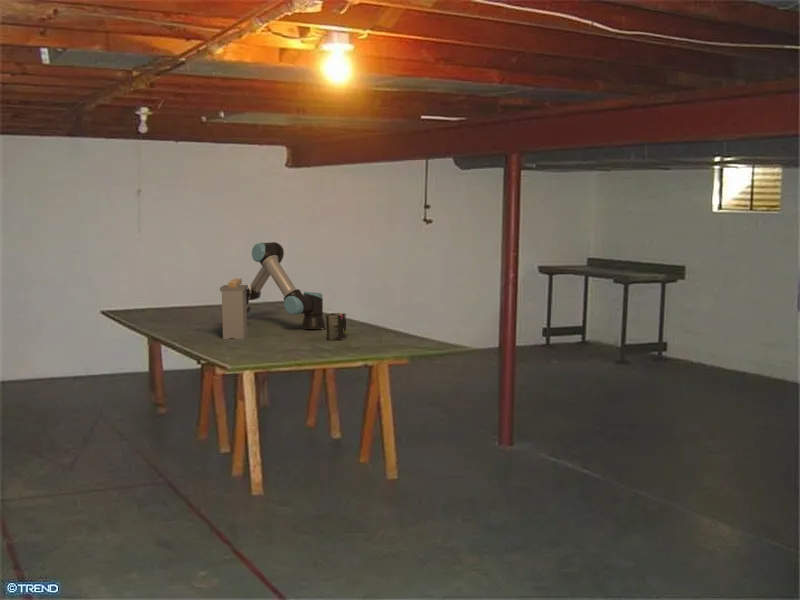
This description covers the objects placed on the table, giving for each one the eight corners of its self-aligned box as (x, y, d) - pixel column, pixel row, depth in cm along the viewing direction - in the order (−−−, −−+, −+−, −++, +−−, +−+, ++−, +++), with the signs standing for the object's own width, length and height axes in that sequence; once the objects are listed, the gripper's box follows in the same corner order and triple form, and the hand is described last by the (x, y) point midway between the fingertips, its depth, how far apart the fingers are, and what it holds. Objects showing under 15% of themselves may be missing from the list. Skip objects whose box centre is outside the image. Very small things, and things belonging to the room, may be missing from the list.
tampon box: (341, 340, 512) (341, 315, 511) (326, 340, 514) (325, 314, 513) (346, 337, 523) (346, 312, 522) (331, 337, 525) (331, 312, 523)
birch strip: (234, 283, 547) (234, 278, 547) (241, 283, 547) (241, 278, 547) (228, 287, 519) (228, 282, 519) (236, 287, 519) (236, 282, 519)
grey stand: (225, 334, 539) (224, 285, 536) (248, 334, 540) (247, 284, 536) (221, 339, 521) (219, 287, 518) (245, 338, 522) (244, 287, 519)
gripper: (262, 306, 570) (258, 292, 550) (222, 307, 568) (217, 293, 549) (262, 295, 573) (259, 281, 553) (223, 296, 572) (218, 282, 552)
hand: (238, 287), depth 551 cm, fingers open, 13 cm apart
